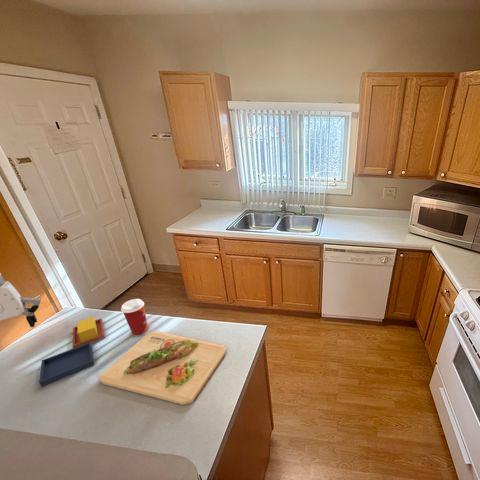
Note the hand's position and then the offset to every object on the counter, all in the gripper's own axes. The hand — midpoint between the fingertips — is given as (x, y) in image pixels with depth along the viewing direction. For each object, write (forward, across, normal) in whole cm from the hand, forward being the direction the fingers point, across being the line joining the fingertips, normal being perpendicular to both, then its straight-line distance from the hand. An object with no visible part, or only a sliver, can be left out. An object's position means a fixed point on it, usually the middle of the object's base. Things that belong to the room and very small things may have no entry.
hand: (10, 331), depth 77 cm
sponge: (+20, +14, +14) cm, 28 cm away
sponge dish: (+20, +14, +14) cm, 28 cm away
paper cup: (+20, +30, +4) cm, 37 cm away
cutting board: (+20, +35, -22) cm, 46 cm away
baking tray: (+20, +8, 0) cm, 22 cm away
